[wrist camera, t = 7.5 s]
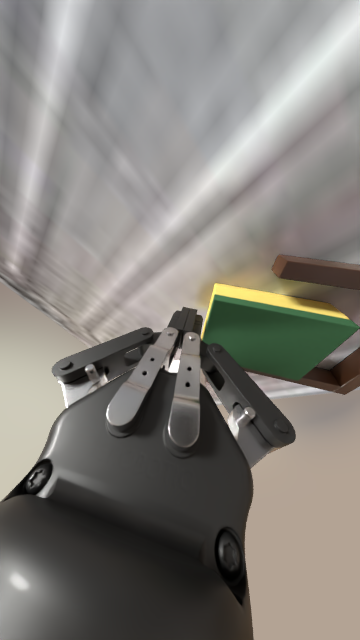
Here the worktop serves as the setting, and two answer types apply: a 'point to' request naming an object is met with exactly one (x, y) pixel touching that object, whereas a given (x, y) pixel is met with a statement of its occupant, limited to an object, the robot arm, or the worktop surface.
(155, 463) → the robot arm
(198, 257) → the worktop surface
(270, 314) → the sponge
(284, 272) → the sponge rack
